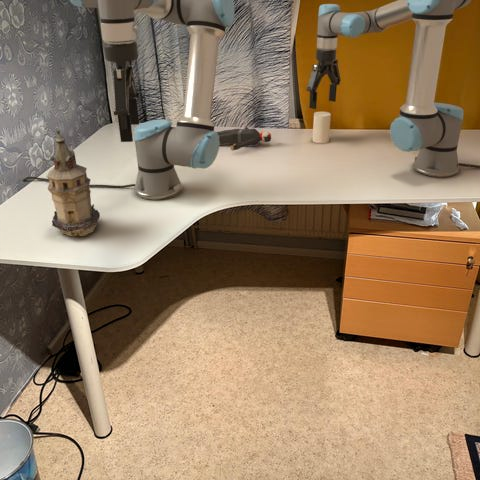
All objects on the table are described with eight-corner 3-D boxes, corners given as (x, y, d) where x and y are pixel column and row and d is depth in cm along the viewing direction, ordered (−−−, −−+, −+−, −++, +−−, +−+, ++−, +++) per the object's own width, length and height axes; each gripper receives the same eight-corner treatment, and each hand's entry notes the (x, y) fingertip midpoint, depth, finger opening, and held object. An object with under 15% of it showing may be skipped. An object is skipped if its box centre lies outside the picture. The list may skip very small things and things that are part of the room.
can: (330, 143, 217) (332, 116, 212) (313, 143, 217) (315, 116, 212) (327, 137, 223) (329, 111, 217) (311, 138, 223) (312, 111, 217)
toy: (206, 120, 229) (275, 120, 223) (207, 134, 232) (276, 134, 226) (189, 139, 207) (265, 140, 201) (190, 155, 210) (266, 156, 204)
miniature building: (80, 214, 164) (63, 117, 149) (111, 225, 157) (96, 125, 142) (44, 231, 154) (22, 130, 140) (75, 244, 147) (55, 139, 133)
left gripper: (129, 51, 111) (140, 149, 121) (142, 33, 133) (150, 117, 143) (93, 51, 111) (107, 150, 121) (111, 33, 132) (122, 118, 143)
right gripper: (336, 43, 213) (332, 96, 223) (298, 52, 196) (296, 109, 207) (352, 45, 208) (347, 99, 219) (315, 55, 192) (312, 113, 203)
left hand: (130, 132), depth 132 cm, fingers open, 13 cm apart
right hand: (322, 104), depth 213 cm, fingers open, 13 cm apart
